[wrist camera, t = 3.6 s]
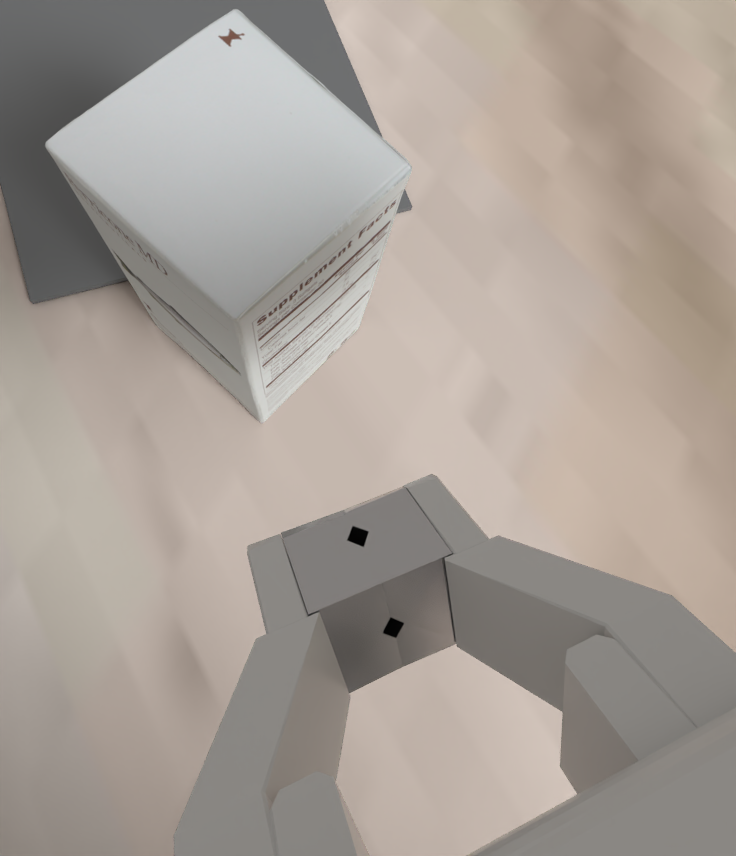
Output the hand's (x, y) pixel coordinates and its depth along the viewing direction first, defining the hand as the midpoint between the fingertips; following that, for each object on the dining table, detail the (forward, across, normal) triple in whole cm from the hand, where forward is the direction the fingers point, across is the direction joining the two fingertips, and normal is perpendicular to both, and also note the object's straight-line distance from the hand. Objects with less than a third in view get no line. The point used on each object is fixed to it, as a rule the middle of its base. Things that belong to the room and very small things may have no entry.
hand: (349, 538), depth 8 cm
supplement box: (+20, -1, +4) cm, 21 cm away
